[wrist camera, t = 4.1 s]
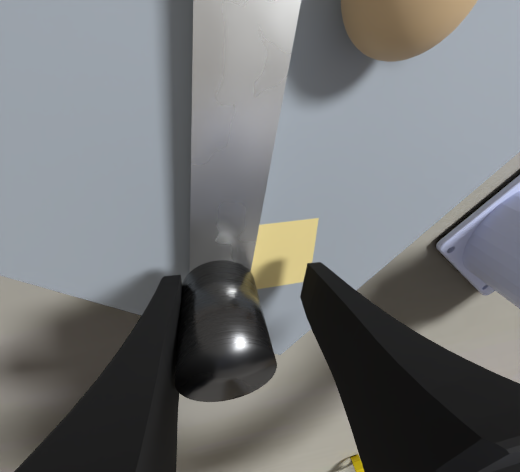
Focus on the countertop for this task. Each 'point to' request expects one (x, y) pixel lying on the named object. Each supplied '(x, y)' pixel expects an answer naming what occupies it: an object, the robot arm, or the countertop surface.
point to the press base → (284, 153)
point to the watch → (357, 463)
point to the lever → (230, 192)
